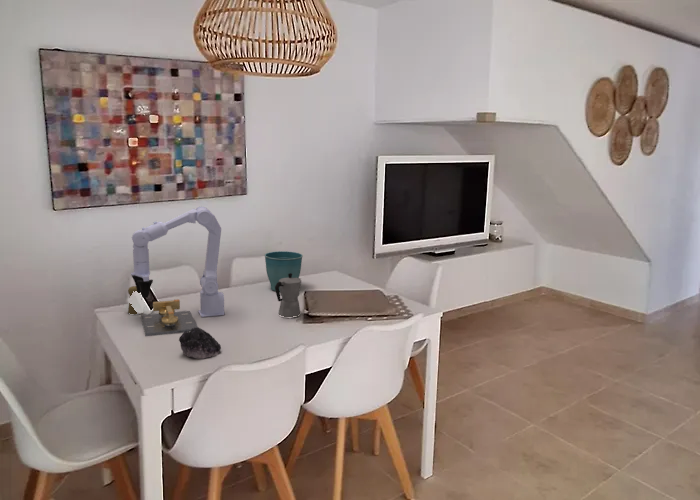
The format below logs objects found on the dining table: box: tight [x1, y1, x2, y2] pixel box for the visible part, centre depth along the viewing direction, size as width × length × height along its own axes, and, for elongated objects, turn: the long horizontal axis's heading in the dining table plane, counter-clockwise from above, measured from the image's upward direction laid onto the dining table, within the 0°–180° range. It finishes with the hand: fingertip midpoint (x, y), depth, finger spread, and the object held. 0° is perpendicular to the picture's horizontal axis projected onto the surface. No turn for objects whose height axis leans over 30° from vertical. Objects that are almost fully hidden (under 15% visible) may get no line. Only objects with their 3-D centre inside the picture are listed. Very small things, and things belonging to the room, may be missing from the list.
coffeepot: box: [274, 273, 302, 317], centre depth 235 cm, size 15×9×18 cm, turn 145°
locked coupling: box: [152, 298, 181, 316], centre depth 227 cm, size 6×10×5 cm, turn 114°
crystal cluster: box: [178, 327, 222, 360], centre depth 195 cm, size 13×14×10 cm
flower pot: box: [264, 250, 303, 292], centre depth 274 cm, size 18×18×17 cm
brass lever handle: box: [162, 306, 178, 325], centre depth 217 cm, size 6×10×5 cm, turn 24°
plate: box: [140, 310, 198, 337], centre depth 222 cm, size 19×22×2 cm
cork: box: [127, 285, 137, 315], centre depth 232 cm, size 6×6×11 cm
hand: (142, 294), depth 224 cm, fingers open, 7 cm apart
